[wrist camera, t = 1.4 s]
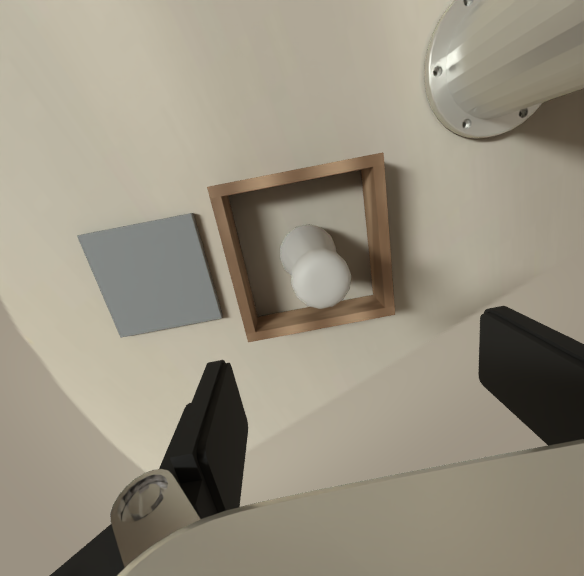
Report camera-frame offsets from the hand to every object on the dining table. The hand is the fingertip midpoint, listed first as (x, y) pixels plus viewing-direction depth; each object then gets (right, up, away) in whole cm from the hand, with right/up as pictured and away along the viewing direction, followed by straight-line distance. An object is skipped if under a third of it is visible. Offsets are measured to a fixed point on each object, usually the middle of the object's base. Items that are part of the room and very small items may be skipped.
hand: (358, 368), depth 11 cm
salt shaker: (-1, +7, +21) cm, 23 cm away
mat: (-18, +4, +21) cm, 28 cm away
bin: (-1, +7, +21) cm, 23 cm away
